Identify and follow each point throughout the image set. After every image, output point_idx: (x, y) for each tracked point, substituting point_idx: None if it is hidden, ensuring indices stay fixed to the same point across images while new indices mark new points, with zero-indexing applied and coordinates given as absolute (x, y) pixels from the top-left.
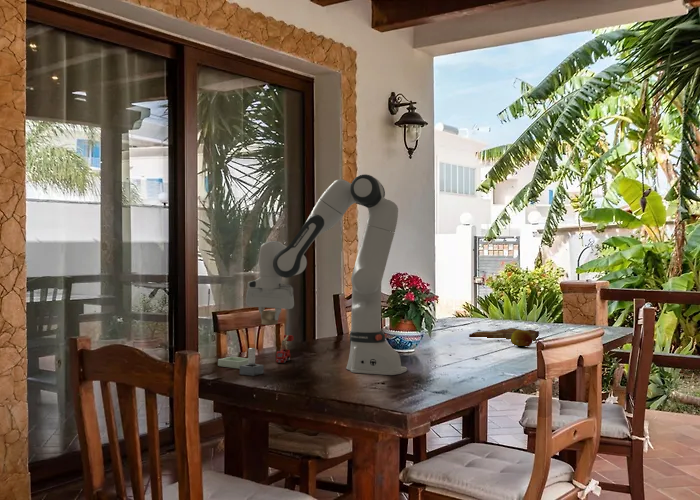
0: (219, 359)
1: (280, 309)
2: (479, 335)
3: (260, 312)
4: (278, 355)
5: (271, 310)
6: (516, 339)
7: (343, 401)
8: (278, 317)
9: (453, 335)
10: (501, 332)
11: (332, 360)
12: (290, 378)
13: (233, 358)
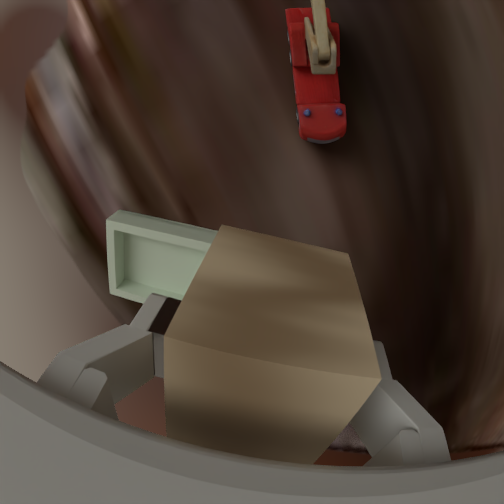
0: (114, 292)
1: (435, 457)
2: None
3: (116, 387)
4: (316, 142)
5: (231, 363)
6: None
7: (477, 447)
8: (386, 359)
9: None
10: None
11: (500, 21)
12: (415, 379)
13: (124, 229)
